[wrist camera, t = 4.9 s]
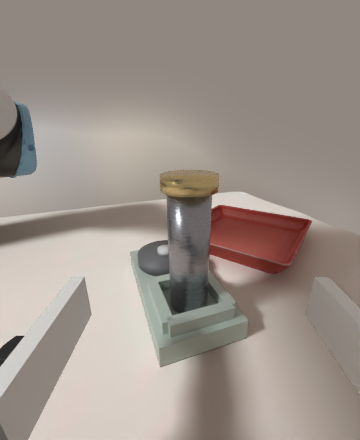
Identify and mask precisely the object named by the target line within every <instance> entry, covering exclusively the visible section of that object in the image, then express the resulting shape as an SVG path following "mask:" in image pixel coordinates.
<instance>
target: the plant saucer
mask: <svg viewBox="0 0 360 440" xmlns="http://www.w3.org/2000/svg"><path fill="white" fill-rule="evenodd" d="M311 223H312V221H311V220H308V219H303V218H297V217H291V216H285V215H279V214H273V213H267V212H261V211H255V210H249V209H243V208H237V207H231V206H225V205H218V206H216V207H214V208H212V209H211V230H210V255H214V256H217V257H220V258H223V259H226V260H229V261H232V262H236V263H239V264H242V265H245V266H248V267H251V268H254V269H258V270H261V271H264V272H267V273H271V274H274V273H277V272H280V271H282V270H284V269H286V268H287V267H289V266H290V265H291V264H292V262H293V260H294V258H295V256H296V254H297V252H298V250H299V248H300V246H301V244H302V242H303V240H304V237H305V235H306V233H307V231H308V229H309V227H310V225H311Z"/></svg>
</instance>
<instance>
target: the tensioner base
mask: <svg viewBox="0 0 360 440" xmlns="http://www.w3.org/2000/svg"><path fill="white" fill-rule="evenodd" d="M130 256H131V265H132V268H133V272H134V276H135V279H136V283H137V286H138V290H139V293H140V297H141V301H142V304H143V308H144V311H145V315H146V318H147V322H148V326H149V329H150V333H151V336H152V340H153V344H154V347H155V351H156V354H157V358H158V361H159V365H160V367H162V366H165V365H168V364H171V363H174V362H177V361H180V360H183V359H185V358H188V357H191V356H194V355H197V354H200V353H203V352H206V351H209V350H212V349H215V348H218V347H221V346H224V345H227V344H230V343H233V342H236V341H239V340H242V339H245V338H247V331H248V323H249V320H248V319H247V318H246V316H245V315H244V314H243V313H242V312H241V310H240V309H239V308H238V307H237V302H236V301H235V300H234V299H233V297H232V296H231V295H230V294H229V293H228V292H227V290H226V289H225V288H224V287H223V286H222V285H221V283H220V282H219V281H218V280H217V279H216V277H215V276H214V275H213V274H212V273H211V272H210V270H209V279H208V303H207V306H206V307H202V308H199V309H195V310H191V311H188V312H184V313H178V312H176V311H175V310H174V309H173V308H172V307H171V304H170V281H169V250H168V240H164V241H156V242H152V243H149V244H147V245H145V246H144V247H142V248H141V249H140V250H138V251H133V252H130Z"/></svg>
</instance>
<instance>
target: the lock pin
mask: <svg viewBox="0 0 360 440" xmlns="http://www.w3.org/2000/svg"><path fill="white" fill-rule="evenodd" d="M160 191H161V192H162V193H163V194H166V195H167V219H168V250H169V281H170V304H171V307H172V308H173V309H174V310H175V311H176V312H178V313H184V312H188V311H191V310H195V309H199V308H202V307H206V306H207V303H208V279H209V254H210V230H211V205H212V195H213V194H215V193H217V192H218V191H219V174H218V173H215V172H211V171H201V170H180V171H169V172H165V173H161V174H160Z"/></svg>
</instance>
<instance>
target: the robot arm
mask: <svg viewBox="0 0 360 440" xmlns="http://www.w3.org/2000/svg"><path fill="white" fill-rule="evenodd" d="M34 145H35V143H34V134H33V128H32V122H31V117H30V113H29V110H28V108H27V107H26V106H25V105H24V104H21V103H18V102H14V101H13V100H12V98H11V96H10V95H9V94H8V93H7V92H6V91H5V90H4V89H3V88H2V87H1V86H0V177H11V178H15V177H16V176H22V175H29V174H32V173H33V172H34V171H35V170H36V167H37V160H36V150H35V147H34ZM91 315H92V314H91V309H90V304H89V298H88V293H87V288H86V283H85V277H71V278H70V279H69V280H68V282H67V283H66V284H65V285H64V287H63V288H62V289H61V290H60V292H59V293H58V294H57V296H56V297H55V298H54V299H53V301H52V302H51V303H50V304H49V306H48V307H47V308H46V309H45V311H44V312H43V313H42V315H41V316H40V317H39V318H38V320H37V321H36V322H35V323H34V325H33V326H32V327H31V329H30V330H29V331H28V332H27V334H26V335H25V336H15V337H14V338H13V339H11V340H10V341H9V342H7V343H6V344H5V345H3V346H2V347H1V349H0V440H28V438H29V436H30V434H31V432H32V430H33V428H34V426H35V425H36V423H37V421H38V419H39V417H40V415H41V413H42V411H43V409H44V407H45V405H46V403H47V401H48V399H49V397H50V395H51V393H52V391H53V389H54V387H55V385H56V383H57V381H58V379H59V377H60V375H61V374H62V372H63V370H64V368H65V366H66V364H67V362H68V360H69V358H70V356H71V354H72V352H73V350H74V348H75V346H76V344H77V342H78V340H79V338H80V336H81V334H82V332H83V330H84V328H85V326H86V324H87V323H88V321H89V319H90V317H91ZM306 316H307V318H308V319H309V321H310V322H311V324H312V325H313V327H314V328H315V330H316V331H317V333H318V334H319V336H320V337H321V338H322V340H323V341H324V343H325V344H326V346H327V347H328V349H329V350H330V352H331V353H332V355H333V356H334V358H335V359H336V361H337V362H338V364H339V365H340V366H341V368H342V369H343V371H344V372H345V374H346V375H347V377H348V378H349V380H350V381H351V383H352V384H353V386H354V387H355V389H356V390H357V392H358V393H359V394H360V307H359V306H358V305H357V304H356V303H355V302H354V301H353V300H352V299H351V298H350V297H349V296H348V295H347V294H346V293H345V292H343V291H342V290H341V289H340V288H339V287H338V286H337V285H336V284H335V283H334V282H333V281H332V280H331V279H330V278H329V277H314V282H313V286H312V290H311V294H310V298H309V302H308V307H307V311H306Z"/></svg>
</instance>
